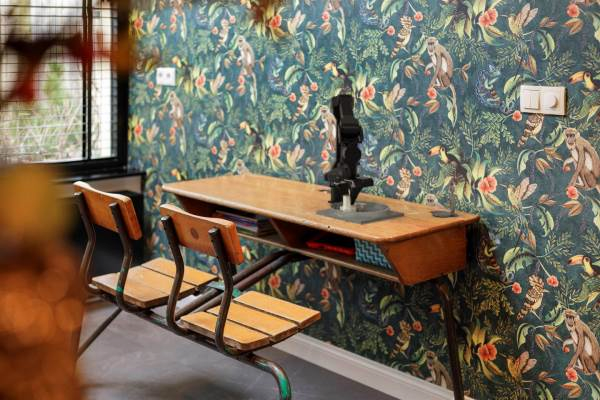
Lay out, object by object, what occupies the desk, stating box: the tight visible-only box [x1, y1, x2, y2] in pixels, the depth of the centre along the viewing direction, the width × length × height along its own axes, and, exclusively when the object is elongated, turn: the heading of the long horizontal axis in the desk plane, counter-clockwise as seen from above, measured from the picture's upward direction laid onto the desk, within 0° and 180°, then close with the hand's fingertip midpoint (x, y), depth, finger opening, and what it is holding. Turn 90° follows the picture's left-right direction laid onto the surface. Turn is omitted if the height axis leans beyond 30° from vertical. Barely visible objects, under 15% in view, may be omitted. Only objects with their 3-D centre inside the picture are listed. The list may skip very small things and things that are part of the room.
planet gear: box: [340, 194, 356, 212], centre depth 273 cm, size 6×6×6 cm
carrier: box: [315, 207, 405, 225], centre depth 278 cm, size 22×22×3 cm
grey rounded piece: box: [431, 188, 457, 218], centre depth 277 cm, size 8×8×10 cm
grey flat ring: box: [329, 200, 391, 218], centre depth 278 cm, size 21×21×2 cm
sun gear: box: [353, 202, 367, 212], centre depth 277 cm, size 5×5×3 cm
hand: (348, 204), depth 273 cm, fingers closed on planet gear, 3 cm apart
